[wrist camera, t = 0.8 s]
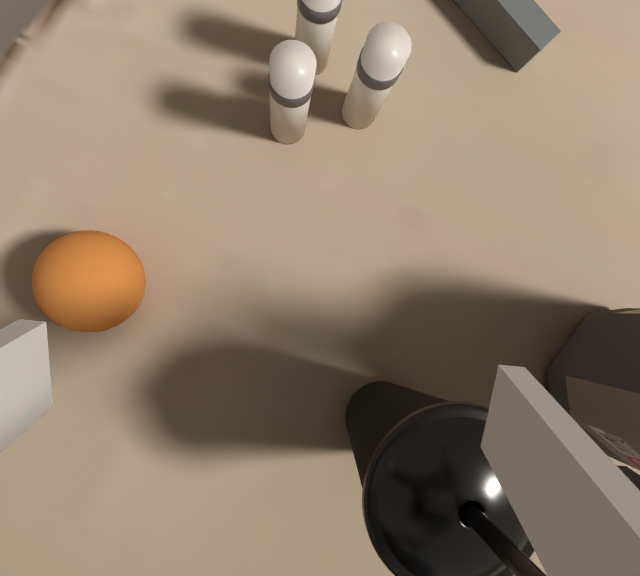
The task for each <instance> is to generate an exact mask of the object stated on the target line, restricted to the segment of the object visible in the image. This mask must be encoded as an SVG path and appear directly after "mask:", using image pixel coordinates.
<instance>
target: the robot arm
mask: <svg viewBox="0 0 640 576" xmlns="http://www.w3.org/2000/svg"><path fill="white" fill-rule="evenodd" d="M51 407H53V403H52V390H51V377H50V364H49V351H48V338H47V325H46V322H44V321H34V320H23V319H19V320H17V321H15V322H13V323H11V324H9V325H7V326H6V327H4V328H2V329H0V453H1V452H2V451H3V450H5V449H6V448H7V447H8V446H9V445H10V444H11V443H12V442H14V441H15V440H16V439H17V438H18V437H19V436H20V435H21V434H22V433H24V432H25V431H26V430H27V429H28V428H29V427H30V426H31V425H33V424H34V423H35V422H36V421H37V420H38V419H39V418H40V417H41V416H43V415H44V414H45V413H46V412H47V411H48V410H49V409H50V408H51ZM481 448H482V450H483V452H484V454H485V456H486V458H487V460H488V462H489V464H490V466H491V468H492V470H493V471H494V473H495V475H496V477H497V479H498V481H499V483H500V485H501V487H502V489H503V491H504V493H505V495H506V496H507V498H508V500H509V502H510V504H511V506H512V508H513V510H514V512H515V514H516V516H517V518H518V519H519V521H520V523H521V525H522V527H523V529H524V531H525V533H526V535H527V537H528V539H529V541H530V543H531V544H532V546H533V548H534V550H535V552H536V554H537V556H538V558H539V560H540V562H541V564H542V566H543V567H544V569H545V571H546V573H547V575H548V576H640V475H638V474H637V473H635V472H634V471H632V470H631V469H629V468H628V467H626V466H617V465H615V463H614V462H613V461H612V460H611V459H610V458H609V457H608V456H607V455H606V454H605V453H604V452H603V451H602V450H601V448H600V447H599V446H598V445H597V444H596V443H595V442H594V441H593V440H592V439H591V438H590V437H589V436H588V434H587V433H586V432H585V431H584V430H583V429H582V428H581V427H580V426H579V425H578V424H577V423H576V422H575V421H574V419H573V418H572V417H571V416H570V415H569V414H568V413H567V412H566V411H565V410H564V409H563V408H562V407H561V405H560V404H559V403H558V402H557V401H556V400H555V399H554V398H553V397H552V396H551V395H550V394H549V393H548V391H547V390H546V389H545V388H544V387H543V386H542V385H541V384H540V383H539V382H538V381H537V380H536V379H535V378H534V376H533V375H532V374H531V373H530V372H529V371H528V370H527V369H526V368H525V367H518V366H507V365H498V370H497V374H496V379H495V383H494V388H493V392H492V397H491V402H490V406H489V411H488V415H487V420H486V424H485V429H484V433H483V438H482V442H481Z"/></svg>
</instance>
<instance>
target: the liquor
mask: <svg viewBox="0 0 640 576" xmlns="http://www.w3.org/2000/svg"><path fill="white" fill-rule="evenodd" d="M546 371H547V380H548V388H549V394H550V395H551V396H552V397H553V398H554V399H555V400H556V401H557V402H558V403H559V404H560V405H561V407H562V408H563V409H564V410H565V411H566V412H567V413H568V414H569V415H570V416H571V417H572V418H573V419H574V421H575V422H576V423H577V424H578V425H579V426H580V427H581V428H582V429H583V430H584V431H585V432H586V433H587V434H588V436H589V437H590V438H591V439H592V440H593V441H594V442H595V443H596V444H597V445H598V446H599V447H600V448H601V450H602V451H603V452H604V453H605V454H606V455H607V456H609V457H612V458H614V459H616V460H618V461H620V462H623V463H625V464H627V465H629V466H631V467H634V468H636V469H638V470H640V309H635V308H625V309H616V310H608V311H599V312H591V313H590V314H588V315H587V316H586V317H585V318H584V319H583V321H582V322H581V323H580V325H579V326H578V328H577V329H576V330H575V332H574V333H573V334H572V336H571V337H570V339H569V340H568V341H567V343H566V344H565V345H564V347H563V348H562V350H561V351H560V352H559V354H558V355H557V356H556V358H555V359H554V360H553V362H552V363H551V365H550V366H549V367H548V369H547V370H546Z"/></svg>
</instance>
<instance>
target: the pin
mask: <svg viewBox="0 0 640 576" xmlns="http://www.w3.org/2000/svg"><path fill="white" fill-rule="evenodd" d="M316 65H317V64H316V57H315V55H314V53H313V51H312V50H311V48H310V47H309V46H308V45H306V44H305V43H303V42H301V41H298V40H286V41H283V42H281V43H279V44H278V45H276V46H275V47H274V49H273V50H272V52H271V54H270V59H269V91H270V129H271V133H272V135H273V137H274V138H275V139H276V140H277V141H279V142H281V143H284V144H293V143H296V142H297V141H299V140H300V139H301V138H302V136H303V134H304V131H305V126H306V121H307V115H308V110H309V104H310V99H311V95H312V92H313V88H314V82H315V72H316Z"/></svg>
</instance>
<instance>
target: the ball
mask: <svg viewBox="0 0 640 576" xmlns="http://www.w3.org/2000/svg"><path fill="white" fill-rule="evenodd" d="M32 289H33V293H34V297H35V299H36V301H37V303H38V305H39V307H40V308H41V310H42V311H43V312H44V313H45V314H46V315H47V316H48V317H49V318H50V319H51V320H53V321H54V322H56V323H57V324H59V325H61V326H63V327H66V328H68V329H71V330H75V331H80V332H98V331H103V330H107V329H110V328H112V327H115V326H117V325H119V324H120V323H122V322H124V321H125V320H126V319H128V318H129V317H130V316H131V315H132V314H133V313H134V311H135V310H136V309H137V308H138V306H139V304H140V302H141V300H142V298H143V295H144V291H145V272H144V269H143V265H142V263H141V261H140V259H139V258H138V256H137V254H136V253H135V252H134V251H133V249H132V248H131V247H130V246H129V245H127V244H126V243H125V242H123V241H122V240H120V239H119V238H117V237H115V236H113V235H110V234H107V233H103V232H99V231H78V232H73V233H69V234H66V235H64V236H62V237H60V238H58V239H56V240H54V241H53V242H52V243H50V244H49V245H48V246H47V247H46V248H45V249H44V250H43V251H42V253H41V254H40V256H39V257H38V259H37V261H36V263H35V266H34V269H33V273H32Z"/></svg>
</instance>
